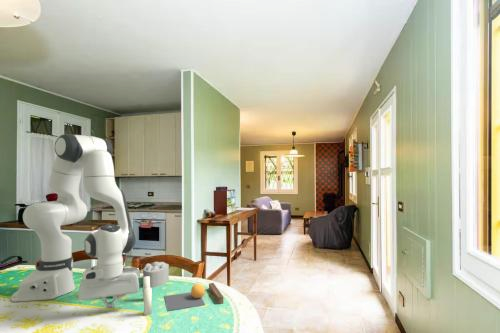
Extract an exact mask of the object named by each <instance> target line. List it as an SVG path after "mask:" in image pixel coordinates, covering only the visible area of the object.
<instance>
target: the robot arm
mask: <svg viewBox="0 0 500 333" xmlns="http://www.w3.org/2000/svg"><path fill="white" fill-rule="evenodd" d="M54 152H55V154H56V155H55V156H56V157H55V159H54V161H53V165H52V169H51V172H50V176H49V177H50V178H49V183H48V187H49V189H50V190H51V191H52V192H53V193H55V194H56V195H57V199H56V200H52V201H42V202H37V203H33V204H31V205H28V206H27V207H26V208H25V209H24V211H23V213H22V221H23V223H24V225H25V226H26V227H27V228H29V229H31V230H32V231H33V232H34V233H36V234H37V236H38V238H39V242H40V248H41V250H40V251H41V254H40V255H41V257H40V258H38V260H37V261H36V262H35V265H34V267H35V269H34V270H33V271H32V272H31V273H29V274H28V275H27V276H25V277H24V278H23V279H22V280H21V282H19V283H20V284H19V286H18V289H17V291H15V292H14V293H13V294H12V295H11V297H10V301H11V302H12V303H17V302H32V301H44V300H46V301H47V300H54V299H55V298H58V297H60V296H64V295H67V294H68V293H71V292H73V291H75V290H76V289H77V288H76V284H75V281H74V275H73V269H74V268H73V267H74V256H73V254H72V252H73V249H72V248H73V240H72V238H71V237H70V236H69V235H67V234H65V233H63V232H62V229H61V226H67V225H71V224H72V225H73V224H76V223H78V222H81V221H83V220H84V219H86V217H87V214H88V207H87V205H86V203H85V202H84V201H83V200H82V199H81V197H80V184H81V178H82V177H83V179H82V180H83V188H84V193H86V194H87V195H88V196H89V197H90V198H92V199H94V200H96V201H99V202H104V203H106V204H109V205H110V206H112V207H113V209H114V211H115V212H114V213H115V216H116V220H117V224H111V223H110V224H104V225H101V226H100V227H98V230H97V231H94V232H91V233H89V234H88V235H87V236H86V238H85V239H84V254H86V255H87V256H89V257H90V258H97V261H96V264H95V265H94V266H93V265H92V266H91V267H88V268H86V269H84V271H83V273H82V276H81V278H82V279H81V281H80V283H79V287H78V292H77V298H78V300H80V301H86V300H87V301H88V300H92V299H93V300H94V299H101V301H102V303H103V304H104V308H105V309H106V310H107V309H108V310H109V309H113V308H115V303H116V301H117V299H118V298H117V295H123V296H125V295H124V294H126V295H129V294H136V293H138V292H139V291H140V283H139V279H140V277H141V270H140V269H139V267H136V266H131V267H132V268H123V265H124V259H123V254H128V253H129V252H131V251H132V250H133V248H134V246H135V245H136V236H135V232H134V229H133V227H132V222H131V217H130V213H129V208H128V203H127V200H126V195H125V193H124V192H123V190H122V189H120V188H119V187H118V185H117V182H116V177H115V168H114V161H113V157H112V155H113V152H114V150H113V145H112V143H111V141H109V140H108V139H106V138H103V137H98V136H97V137H96V136H94V135H93V136H92V135H89V134H88V135H86V134H85V135H84V134H81V135H80V134H73V133H66V134H64V133H63V134H61V135H60V136H58V137H57V138H56V140H55V143H54ZM82 173H83V174H82ZM82 175H83V176H82ZM109 296H113V297H112V299H113V300H112V301H107V298H108V297H109Z"/></svg>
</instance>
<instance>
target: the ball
mask: <svg viewBox="0 0 500 333" xmlns="http://www.w3.org/2000/svg"><path fill="white" fill-rule="evenodd" d="M190 292H191V294H192V296H193V297H194V298H203V297H204V295H205V293H206V288H205V286H204V285H203V284H202V283H196V284H193V286H192V287H191V290H190Z"/></svg>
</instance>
